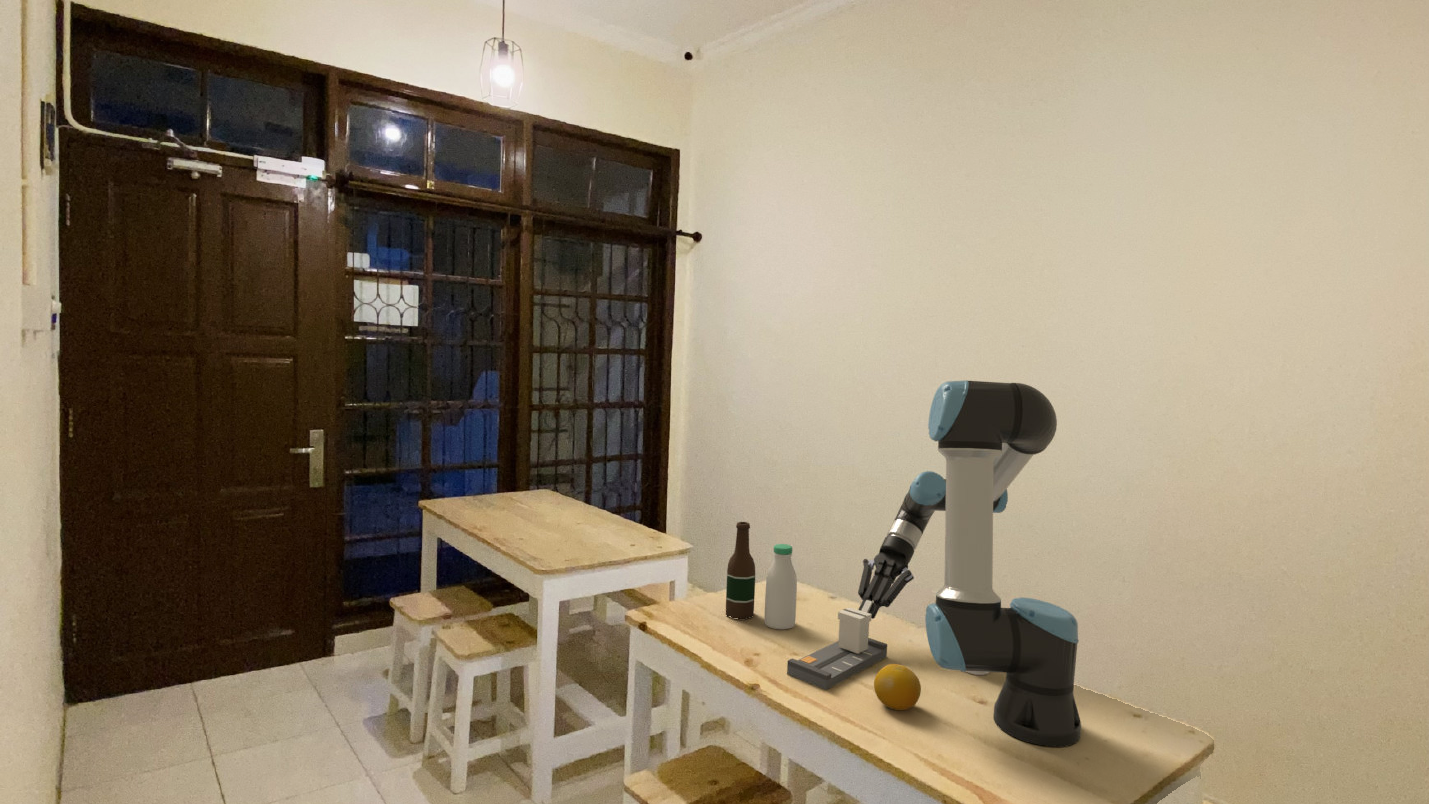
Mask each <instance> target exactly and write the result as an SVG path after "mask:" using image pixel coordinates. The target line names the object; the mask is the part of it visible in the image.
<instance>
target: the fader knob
mask: <svg viewBox="0 0 1429 804" xmlns="http://www.w3.org/2000/svg"><path fill="white" fill-rule="evenodd" d="M871 616H872V614H870V613H867V612H863V611H860V610H858V609H857V608H853V607H846V608H844V609H842V610H840V611H838V613H837V620H839V621H838V622H839V627H838V640H837V641H838V647H841V648H843V649H846V650H849V651H852V652H855V653H858V654H859V653H860V652H862V651H864V650H866V649H868V638H869V636H870V635H869V634H870V633H869V632H870V622H872V618H871Z"/></svg>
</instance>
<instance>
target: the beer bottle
mask: <svg viewBox="0 0 1429 804" xmlns="http://www.w3.org/2000/svg"><path fill="white" fill-rule="evenodd" d="M735 526H736V527H735V528H736V536H735V537H736V539H735V547H734V552H733V554H732V555H731V557H730V558H729V560H728V563H727V569H726V592H725V593H726V595H725V616H726V615H727V616H726V617H728V616H731V617H732V618H738V619H737V620H740V619H746V618H749V617H752V616H753V617H754V612H755V596H756V595H755V593H756V591H755V590H756V564H755V563H756V562H755V560H754V558H753V556H752V555H751V552H750V529H751V525H750V522H747V521H738V522H736V525H735ZM753 617H752V618H753ZM732 618H731V619H732ZM749 619H750V618H749ZM746 620H747V619H746Z"/></svg>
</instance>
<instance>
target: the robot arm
mask: <svg viewBox="0 0 1429 804" xmlns="http://www.w3.org/2000/svg"><path fill="white" fill-rule="evenodd" d="M1057 425H1058V419H1057V414H1056V411H1055V409H1054V406H1053V404H1052V402H1051V401H1050V400H1049V398H1048V397H1047V396H1046V395H1045V394H1044V393H1043V392H1041V391H1040V390H1039V389H1037V388H1035V387H1034V386H1031V385H1030V384H1029V385H1028V384H1026V383H1020V382H998V381H997V382H996V381H981V380H979V381H978V380H967V379H966V380H949V381H945V382H943V383H942V384H941V385H940V386H939V387H938V388H937V389H936V391H935V394H934V396H933V398H932V402H931V406H930V410H929V416H928V425H927V427H928V428H927V429H928V435H929V438H930V439H931V440H932V441H934V442H937V444H938V446H937V449H938V452H939V453H940V454H941V455H942V456H943V457H944V458H945V461H946V462H945V478H944V477H943V476H942V475H940V474H938V473H937V472H935V471H931V470H927V471H923V472H920V473H919V474H918V475H917V476H916V477H915V478H914V479H913V481H912V482H911V484H910V486H909V489H908V492H907V493H906V494H905V496H904V498H903V501H902V503H901V505H900V507H899V509H898V512H897V514H896V516H895V518H894V520H893V522H892V523H891V524H890V526H889V529H888V532H887V534H886V536H885V537H884V540H883V541H882V544H881V545H880V548H879V551H878V554H876V555H875V556H874V558H873V559H867V558H864V559H863V560H862V564H863V570H862V575H861V578H860V583H859V587H858V591H857V594H858V596H859V598H860V600H862V601H861V604H859V605H860V606H859V607H858V609H857V610H860V611H863V612H867V613H870V614H872V616H871V620H872V619H875V618H876V616H877V614H878V612H879V609H880V608H882V607H884V608H889V607H890V606H891V604H893V602H894V601H895V599H896V598H897V597H898V596H899V594H900V593H901V591H902V590H903V589H904V588H905V587H906V585H907V584H908V583H910V582H912V580H913V581H914V574H913V573H912V571H911V570H910V569H909V564H910V562H911V560H912V558H913V556H914V553H915V550H916V549H917V547H918V545H919V542H920V541H921V539H922V537H923V534H924V532H925V530H926V527H927V525H928V524H929V522H930V520H931V519H932V516H933V514H934V513H935V512H936V511H939V512H945V514H944V515H945V517H944V519H945V520H944V521H945V522H944V528H945V530H944V531H945V534H944V535H945V536H944V585H943V586H942V588H940V589H939V590H938V591H937V592H936V593H935V603H931V604H927V607H926V609H925V615H924V616H925V621H924V622H925V630H926V631H925V632H926V637H927V642H928V647H929V650H930V653H931V655H932V658H933V659H934V661H935V663H936V664H937V665H938V666H939V667H940V668H942V669H945V670H952V671H959V672H963V673H964V672H965V671H981V672H989V673H1003V674H1006V675H1005V676H1006V677H1005V681H1004V683H1003V685H1002V688H1001V690H1000V692H999V694H998V697H997V698H996V699H997V700H996V701H995V703H994V705H993V714H992V715H993V721H994V723H995V724H996V726H997V727H998V726H999V727H1000V728H1001V729H1000V728H999V729H1000V730H1002V731H1003V732H1004V731H1006V732H1007V733H1006V732H1005V733H1006V734H1008V735H1009V734H1010V735H1009V736H1011V737H1013V736H1014V737H1013V738H1015V737H1016V739H1018V740H1020V741H1024V742H1026V741H1028V742H1027V743H1029V742H1030V744H1033V743H1034V744H1033V745H1037V744H1038V746H1042V745H1048V746H1047V747H1051V746H1053V747H1054V746H1057V747H1056V748H1058V747H1059V748H1061V747H1060V746H1062V747H1067V746H1066V745H1069V746H1072V745H1074V744H1076V743H1078V742H1079V740H1080V739H1081V736H1082V735H1081V732H1082V722H1081V717H1080V714H1079V711H1078V710H1079V709H1078V706H1077V703H1076V699H1075V696H1074V687H1075V686H1074V684H1075V676H1076V673H1075V672H1076V664H1077V654H1078V653H1077V652H1078V643H1079V635H1078V634H1079V633H1078V632H1079V631H1078V629H1079V627H1078V621H1077V619H1076V617H1075V616H1074V615H1073V614H1072V613H1071V612H1070V611H1068V610H1066V609H1065V608H1063V607H1060V606H1059V605H1056V604H1053V603H1051V602H1048V601H1044V600H1041V599H1036V598H1031V597H1014V598H1013V599H1012V600H1011V602H1010V603H1009V607H1002V599H1001V597H1000V596H999V595H998V594H997V593H996V592H995V591H994V589H993V575H994V574H993V573H994V572H993V565H994V564H993V562H994V561H993V559H994V556H993V555H994V553H993V552H994V551H993V550H994V549H993V547H994V546H993V545H994V544H993V543H994V542H993V541H994V537H993V536H994V532H993V531H994V514H1000V513H1003V512H1005V510H1006V508H1007V504H1008V502H1009V501H1008V500H1009V499H1008V498H1009V497H1008V496H1009V494H1008V493H1009V492H1008V488H1009V486H1010V485H1011V484H1012V483H1013V481H1015V479H1016V478H1017V476H1018V475H1019V474H1020V472H1022V470H1023V469H1024V468H1025V466H1026V465H1027V464H1028V463H1029V461H1030V460H1031V459H1032V457H1034V455H1035V456H1036V455H1037V454H1038V455H1039V454H1040V453H1042V452H1043V451H1045V450H1046V449H1047V447H1048V446H1049V445H1050V444H1051V443H1052V442H1053V439H1054V437H1055V434H1056V432H1057ZM874 568H875V570H874ZM873 570H874V574H873ZM872 574H873V577H872ZM871 578H872V579H871ZM965 673H966V672H965ZM1075 742H1076V743H1075ZM1071 744H1072V745H1071Z"/></svg>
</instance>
